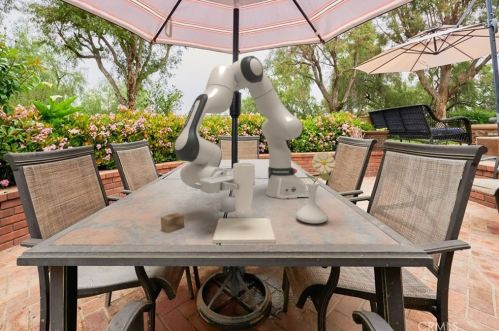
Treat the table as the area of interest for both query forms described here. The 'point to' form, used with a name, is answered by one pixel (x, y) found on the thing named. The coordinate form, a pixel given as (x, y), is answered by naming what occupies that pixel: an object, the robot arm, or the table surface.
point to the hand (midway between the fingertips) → (245, 185)
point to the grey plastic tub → (228, 204)
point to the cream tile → (244, 230)
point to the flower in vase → (312, 210)
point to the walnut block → (172, 222)
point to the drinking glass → (244, 186)
